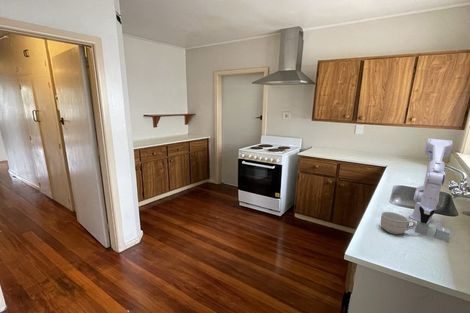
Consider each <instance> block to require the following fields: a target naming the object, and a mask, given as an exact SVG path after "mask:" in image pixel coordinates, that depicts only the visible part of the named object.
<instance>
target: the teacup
mask: <svg viewBox="0 0 470 313" xmlns="http://www.w3.org/2000/svg"><path fill="white" fill-rule="evenodd" d="M406 217H407V216H405V215H403V214H400V213H397V212H392V211H383V212H381V217H380V226H381V227H382V229H383V230H384V231H386V232H387V233H390V234H392V235H401V234H403V233H405V232H406V231H407V230H412V229H415V228H416V224H417V222H416V220H414V219H413V220H412V219H410V220H408V218H409V217H408V218H406ZM408 223H409V224H410V223H412V225H411V226H409V227H407V225H408Z"/></svg>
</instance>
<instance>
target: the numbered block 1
mask: <svg viewBox="0 0 470 313" xmlns="http://www.w3.org/2000/svg"><path fill="white" fill-rule="evenodd" d="M450 235H451V230H450V229H449V228H445V227H442V226H439V225H437V226H436V228H435V232H434V239H436V240H440V241H443V242H445V243H448V242H449V239H450Z"/></svg>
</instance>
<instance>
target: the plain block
mask: <svg viewBox="0 0 470 313" xmlns="http://www.w3.org/2000/svg"><path fill="white" fill-rule="evenodd" d="M429 228H430V223H426V224H425V223H421V221H417V220H416V227H415V228H414V232H415V233H417V234H419V235H423V236H425V237H426V236H428V233H429V232H428V231H429Z"/></svg>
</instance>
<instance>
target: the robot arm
mask: <svg viewBox="0 0 470 313" xmlns="http://www.w3.org/2000/svg"><path fill="white" fill-rule="evenodd" d="M453 144H454V142H453V140H451V139H450V140H449V139H438V138H431V137H429V138H427V139H426V144H425V149H424V154H425V155H427V156H428V164H427V169H426V172H425V177H424V182H423V185H420V186H418V187H416V189H415V192H414V195H413V201H414V202H415V205H414V209H413V214H411V215H409V217H408V218H411V220H412V219H413V220H414V221H416V222H417V221H421V223H425V224H426V223H428V224H430V223H431V222H433V221H434V218H433V216H434V215H435V210H436V209H437V206H438V205H439V202H440V201H439V200H440V193H441V190H442V188H443V186H444V185H445V181H446V177H447V176H446V171H445V166H446V164H445V162H444V161H443V158H446V157H448V156H449V154H450V152H452V148H453Z"/></svg>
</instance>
